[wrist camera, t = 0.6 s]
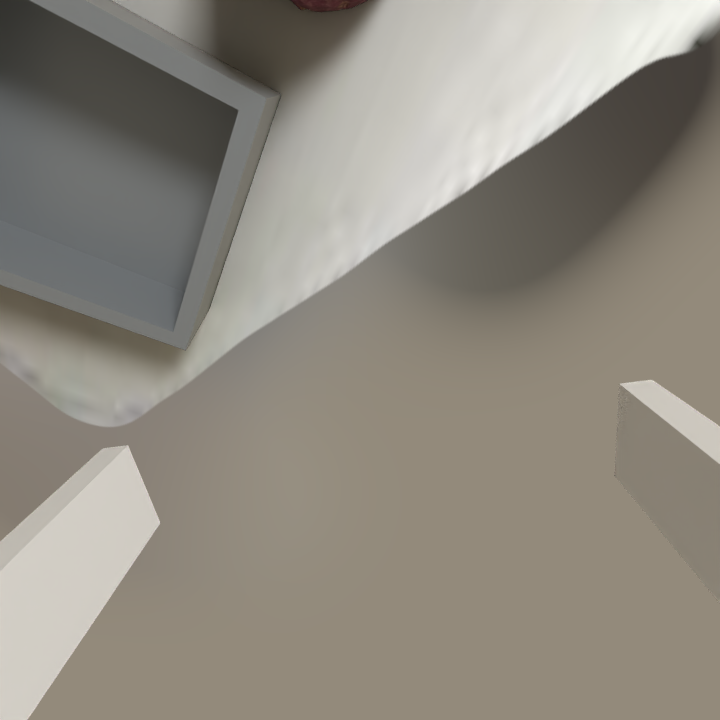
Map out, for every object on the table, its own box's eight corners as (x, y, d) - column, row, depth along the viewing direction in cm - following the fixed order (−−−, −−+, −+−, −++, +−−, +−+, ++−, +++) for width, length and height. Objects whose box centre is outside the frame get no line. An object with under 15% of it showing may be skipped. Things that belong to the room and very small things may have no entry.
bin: (-19, -71, 24) (-132, -118, 18) (281, 94, 29) (266, 98, 23) (-22, 219, 33) (-100, 249, 27) (209, 308, 38) (185, 350, 32)
